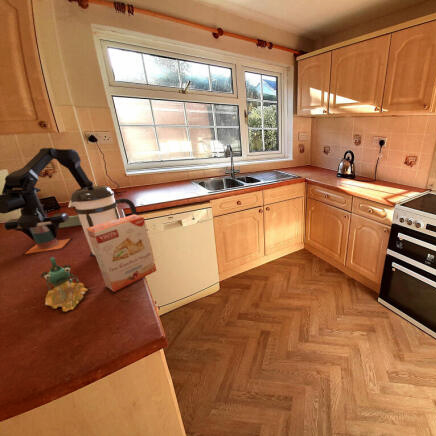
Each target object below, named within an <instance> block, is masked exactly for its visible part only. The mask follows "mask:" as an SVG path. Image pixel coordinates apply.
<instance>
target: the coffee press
mask: <svg viewBox="0 0 436 436" xmlns="http://www.w3.org/2000/svg"><path fill="white" fill-rule="evenodd" d="M85 184H86V186H88V187H84V188H81V187H80V188H78V189H75V190H74V191H73V192H72V193H71V196H70V200H69V203H68V208H73V207H74V211H75V213H76V215H78V216H79V219H80V222H81V224H82V225H81V226H82V227H81V228H82V229H83V233H84V236H85V238H86V241H87V243H88V246H89V249H90V255H91V256H95V253H94V250H93V247H92V244H91V241H90V238H89V235H88V232H87V230H86V228H89V227H92V226H96V225H99V224H103V223H106V222H110V221H113V220H117V219H120V218H121V216H120V212H119V209H118V205H119V204H127V205H128V207H129V209H130V211H131V212H130V213H131V215H134V214H135V215H138V211H137V208H136V206H135V203H134V202H133V201H132V200H130V199H128V198H118V199H115V192H114V190H112V189H111V188H110V187H109V186H106V185H94V182H93V181H92V180H90V181H86V182H85ZM92 185H93V186H92ZM138 216H139V215H138Z"/></svg>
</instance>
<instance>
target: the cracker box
mask: <svg viewBox="0 0 436 436" xmlns="http://www.w3.org/2000/svg"><path fill="white" fill-rule="evenodd" d="M86 230H87V232H88V235H89V238H90V241H91V244H92V247H93V250H94V253H95V255H94V256H95V258H96V261H97V265H98V267H99V270H100V274H101V276H102V278H103V282H104V285H105V287H107V288H108V289H109V290H110V291H112V292H113V293H115V292H117V291H119V290H121V289H123V288H125V287H127V286H129V285H131V284H133V283H136V282H137V281H139V280H141V279H144V278H145V277H147V276H150V275H152V274H153V273H155V272H157V267H156V263H155V259H154V255H153V251H152V246H151V242H150V238H149V233H148V230H147V225H146V221H145V218H144V216H141V215H135V214H134V215H132V214H131V215H127V216H124V217H120V219H117V220H113V221H110V222H106V223H103V224H99V225H96V226H92V227H89V228H86Z"/></svg>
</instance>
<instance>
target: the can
mask: <svg viewBox="0 0 436 436" xmlns="http://www.w3.org/2000/svg"><path fill="white" fill-rule="evenodd" d="M50 224H51V222H42V223H38V225H37V226H36V227H34V228H29V229H30V231H31V233H32V236H33V238H34V240H35V241H34V243H35V245H36V244H37V246H38V248H39V249H47V248H51V247H54V246H56V245H58V237H57V238H55V237H54V236H53V233H52V230H51V228H50V227H49V226H48V225H50Z"/></svg>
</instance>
